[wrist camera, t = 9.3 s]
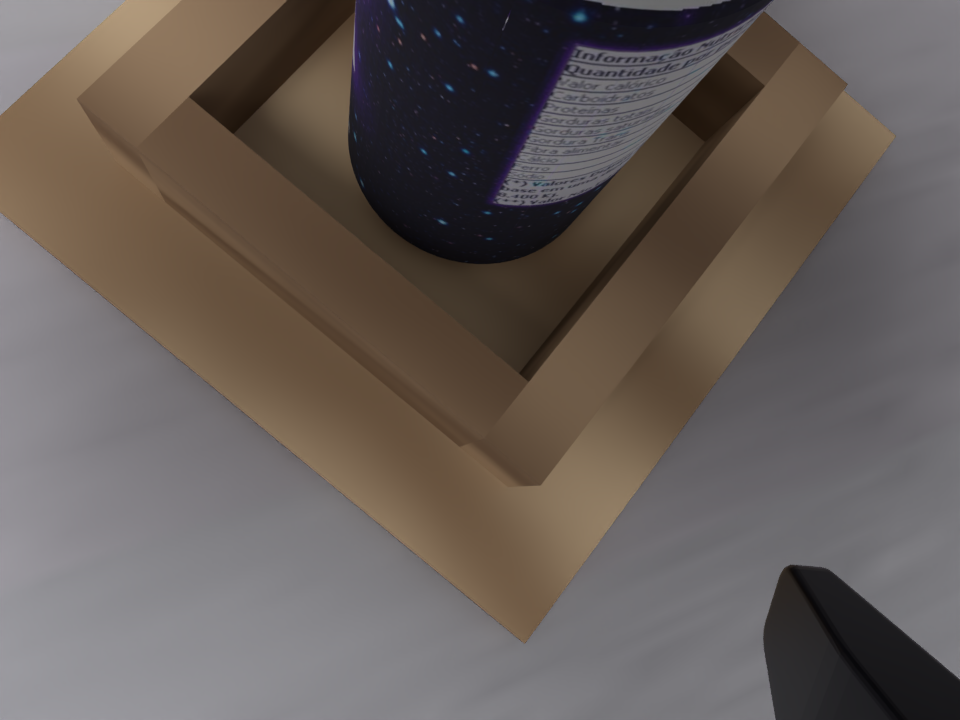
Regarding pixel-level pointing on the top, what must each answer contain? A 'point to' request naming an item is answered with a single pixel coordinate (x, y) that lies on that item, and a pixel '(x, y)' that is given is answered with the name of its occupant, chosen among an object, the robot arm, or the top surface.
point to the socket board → (427, 272)
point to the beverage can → (516, 108)
